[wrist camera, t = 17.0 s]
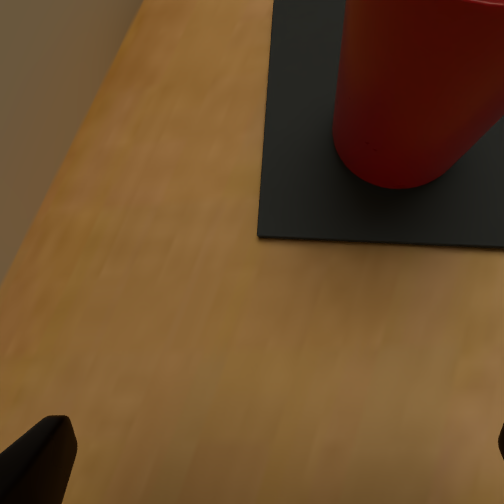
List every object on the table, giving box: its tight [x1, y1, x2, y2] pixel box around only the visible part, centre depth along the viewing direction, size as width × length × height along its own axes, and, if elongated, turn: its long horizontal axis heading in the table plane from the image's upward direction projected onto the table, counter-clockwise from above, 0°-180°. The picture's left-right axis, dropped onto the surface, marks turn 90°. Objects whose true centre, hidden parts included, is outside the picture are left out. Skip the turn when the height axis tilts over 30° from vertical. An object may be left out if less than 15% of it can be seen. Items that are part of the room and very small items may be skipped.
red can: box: [332, 0, 504, 189], centre depth 14 cm, size 7×7×13 cm
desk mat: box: [257, 0, 504, 249], centre depth 20 cm, size 18×14×1 cm
